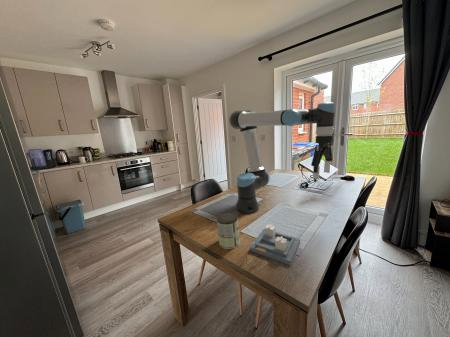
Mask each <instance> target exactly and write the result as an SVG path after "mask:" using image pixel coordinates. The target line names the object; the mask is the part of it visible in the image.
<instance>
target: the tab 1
mask: <svg viewBox="0 0 450 337" xmlns="http://www.w3.org/2000/svg"><path fill="white" fill-rule="evenodd" d="M264 229H265V235H266V236H270V237H273V238H274V237H275V232H276V226H274V225H273V224H272V223H270V224H266V226H265V227H264Z"/></svg>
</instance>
